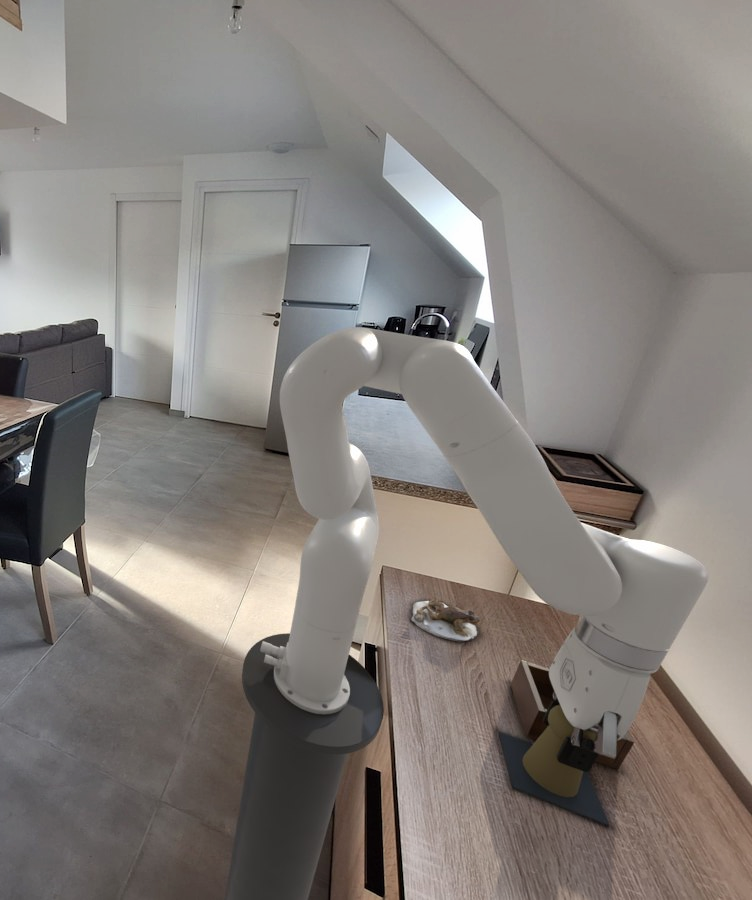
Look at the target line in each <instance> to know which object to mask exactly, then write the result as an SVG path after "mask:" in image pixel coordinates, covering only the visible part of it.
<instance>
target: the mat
mask: <svg viewBox="0 0 752 900" xmlns="http://www.w3.org/2000/svg"><path fill="white" fill-rule="evenodd" d="M498 735H499V739H500V744H501V747H502V751H503V755H504V759H505V763H506V767H507V771H508V774H509V779H510V784H511V787H512V789H514V790H516V791H519V792H521V793H523V794H525V795H528V796H531V797H533V798H536V799H539V800H541V801H543V802H546V803H549V804H551V805H554V806H555V807H558V808H561V809H563V810H566V811H568V812H571V813H573V814H576V815H578V816H581V817H583V818H586V819H589V820H591V821H593V822H595V823H598V824H601V825H604V826H606V827H610V822H609V820H608V818H607V815H606V813H605V811H604V808H603V806H602V804H601V803H602V802H601V801H600V798H599V796H598V794H597V791H596V789H595V787H594V784H593V781H592V779H591V777H590V774H589V772H584V771H583V775H582V779H581V782H580V786H579V790H578V794H576V795H575V796H574V797H563V796H559V795H557V794H554V793H552V792H550V791H548V790H547V789H545V788H543V787H542V786H541V785H539V784H538V783H537V782H536V781H535V780H533V778H532V777H531V776H530V775H529V774H528V773H527V771H526V769H525V767H524V765H523V761H522V760H523V757H524V755H525V754H526V752H527V751H528V750H529V749H530V748H531V746H532V745H533V744H534V743H533V742H530V741H527V740H524V739H522V738H519V737H516V736H513V735H510V734H507V733H504V732H502V731H498Z"/></svg>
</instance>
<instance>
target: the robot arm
mask: <svg viewBox="0 0 752 900" xmlns="http://www.w3.org/2000/svg"><path fill="white" fill-rule="evenodd" d="M363 387H367V388H371V389H376V390H380V391H385V392H390V393H393V394H394V393H395V394H399V395H401V396H402V397H403V399H404V401H405V403H406V404H407V406H408V408H409V409H410V411H411V412H412V413H413V414H414V416H415V417H416V419H417V420H418V421H419V423H420V424H421V426H422V427H423V429H424V430H425V431H426V433H427V434H428V435H429V437H430V438H431V439H432V441H433V443H434V444H435V445H436V447H437V448H438V450H439V451H440V452H441V454H442V456H443V457H444V458H445V460H446V461H447V462H448V464H449V465H450V466H451V468H452V469H453V471H454V473H455V474H456V476H457V477H458V479H459V480H460V482H461V484H462V486H463V487H464V490H465V492H467V494H468V496H469V499H471V500H472V502H473V504H474V505H475V506H476V508H477V509H478V511H479V513H480V514H481V515H482V517H483V518H484V520H485V522H486V523H487V525H488V527H489V528H490V530H491V532H492V533H493V535H494V536H495V538H496V540H497V542H498V543H499V544H500V546H501V548H502V549H503V550H504V552H505V553H506V555H507V556H508V558H509V560H510V561H511V562H512V564H513V565H514V566H515V568H516V569H517V570H518V572H519V573H520V575H521V577H522V578H523V579H524V580H525V582H526V584H527V585H528V586H529V588H530V589H531V590H532V591H533V592H534V594H535V595H536V596H537V597H538V598H539V599H540V600H541V601H543V603H545V604H546V605H548V606H550V607H551V608H554V609H555V610H558V611H560V612H562V613H564V614H565V613H566V614H569V615H574V616H579V618H578V620H577V622H576V624H575V626H574V628H572V630H571V631H570V632H569V633H568V635H567V637H566V638H565V640H564V641H563V643H562V645H561V646H560V648H559V650H558V652H557V654H556V655H555V657H554V659H553V662H552V663H551V665H550V667H549V668H548V669H549V678H550V681H551V683H552V686H553V689H554V692H553V699H554V700H557V701H554V700H552V701H551V703H550V705H549V707H548V709H547V711H546V713H545V716H544V718H543V721H544V723H545V724H546V725H548V726H549V723H548V715H549V712H550V710H551V709H552V708H553V707H555V706H557V705H561V708H562V710H563V712H564V714H565V716H566V718H567V720H568V721H569V723H570V724H571V725H572V726H574V728H573V732H572V736H571V737H566V739H565V740H564V742H563V744H562V746H561V748H560V750H559V752H558V754H557V756H556V757H557V760H558V762H560V763H562V764H565V765H568V766H570V767H573V768H576V769H578V770H581V771H584V772H588V773H589V772H590V771H591V769H592V767H593V766H594V764H595V762H596V761H595V760H596V759H597V757H598V755H604V756H607V757H610V758H613V759H615V758H616V743H617V741H618V740H620V739H622V738H623V737H624V735H625V734H626V733H627V731H628V732H629V730H630V728H631V726H632V724H633V722H634V721H635V719H636V717H637V715H638V712H639V710H640V708H641V705H642V703H643V700H644V698H645V695H646V693H647V689H648V687H649V683H650V679H651V674H655V673H656V672H657V671H659V669H660V668H661V667H660V666H661V665H662V664H663V661H664V659H665V658H666V656H667V654H668V652H669V651H670V649H671V647H672V646H673V644H674V642H675V640H676V638H677V637H678V635H679V633H680V631H681V630H682V628H683V626H684V624H685V622H686V621H687V619H688V617H689V616H690V615H691V612H692V611H693V609H694V607H695V605H696V603H697V602H698V600H699V599H700V598H701V595H702V593H703V591H704V590H705V588H706V586H707V584H708V582H709V572H708V570H707V568H706V567H705V565H704V564H703V563H701V561H699V560H698V559H697V558H695V557H693V556H691V555H689V554H688V553H685V552H683V551H681V550H679V549H676V548H674V547H671V546H668V545H665V544H662V543H658V542H654V541H650V540H649V541H648V540H643V539H632V538H631V539H630V538H627V537H624V536H621V535H617V534H616V533H612V532H609V531H607V530H603V529H601V528H598V527H595V526H592V525H589V524H587V523H584V522H581V521H580V520H579V518H578V516H577V515H576V514H575V512H574V511H573V509H572V508H571V506H570V504H569V503H568V502H567V500H566V498H565V497H564V495H563V494H562V492H561V489H559V487H558V485H557V483H556V481H555V480H554V478H553V476H552V474H551V472H550V470H549V467H548V466H547V463H546V461H545V459H544V458H543V455H542V454H541V452H540V451H539V449H538V447H537V446H536V444H535V443H534V441H533V440H532V439H531V437H530V436H529V434H528V433H527V432H526V430H525V429H524V427H523V426H522V425H521V423H520V422H519V421H518V419H517V418H516V417H515V416H514V414H513V413H512V411H511V410H510V409H509V407H508V406H507V404H506V403H505V402H504V400H503V399H502V398H501V396H500V395H499V393H498V392H497V391H496V390H495V388H494V387H493V385H492V384H491V383H490V381H489V380H488V378H487V377H486V376H485V374H484V373H483V371H482V370H481V368H480V367H479V365H478V364H477V363H476V361H475V360H474V357H473V355H472V354H471V352H470V351H469V349H467V348H466V347H465V346H464V345H461V344H459V343H457V342H454V341H451V340H450V341H449V340H444V339H437V338H431V337H425V336H416V335H411V334H405V333H398V332H393V331H387V330H381V329H375V328H369V327H363V326H362V327H361V326H352V327H346V328H343V329H340V330H337V331H334V332H331V333H328V334H326V335H325V336H323V337H321V338H319V339H318V340H316V341H315V342H313V343H312V344H310V345H309V346H307V348H306V349H304V350H303V351H302V352H301V353H300V354H299V355H298V356H296V358H295V359H294V360H293V361H292V362H291V364H290V365H289V366H288V368H287V370H286V372H285V373H284V376H283V378H282V381H281V384H280V389H279V409H280V414H281V419H282V425H283V429H284V433H285V439H286V445H287V451H288V457H289V461H290V468H291V473H292V478H293V483H294V489H295V494H296V497H297V500H298V502H299V504H300V505H301V507H302V508H303V510H305V512H306V513H307V514H308V515H310V516H312V517H313V518H316V519H318V520H317V522H316V523H315V525H314V527H313V528H312V530H311V532H310V533H309V535H308V537H307V540H306V542H305V544H304V546H303V549H302V553H301V557H300V564H299V565H300V567H299V578H298V579H299V580H298V586H297V592H296V598H295V605H294V608H293V614H292V621H291V627H290V632H289V633H290V636H289V642H287V645H286V647H283V646H280V648H279V647H276V646H273V645H272V644H270V643H267V642H264V641H263V642H262V645H261V649H260V652H262V653H265V654H268V655H265V659H264V662H265V663H267V664H270V665H274V666H275V667H274V680H275V683H276V685H277V687H278V689H279V690H280V692H281V693H282V695H283V696H284V697H285V698H286V699H287V700H289V701H290V702H291V703H292V704H294V705H295V706H297V707H299V708H301V709H303V710H305V711H308V712H311V713H315V714H332V713H336V712H338V711H340V710H342V709H343V708H344V707H345V706H346V704H347V702H348V699H349V695H350V687H349V683H348V681H347V679H346V677H345V675H344V672H345V668H346V664H347V660H348V656H349V655H350V651H351V647H352V644H353V639H354V636H355V632H356V628H357V623H358V618H359V615H360V611H361V607H362V603H363V599H364V595H365V592H366V588H367V584H368V581H369V578H370V574H371V571H372V566H373V562H374V557H375V556H376V555H375V554H376V548H377V544H378V542H379V537H380V522H379V521H380V520H379V514H378V509H377V504H376V503H377V502H376V497H375V493H374V486H373V480H372V474H371V470H370V466H369V462H368V459H367V458H366V456H365V455H364V453H363V452H362V450H361V449H359V448H358V447H357V446H356V445H354V444H353V443H351V442H350V441H349V440H350V439H349V433H348V426H347V422H346V419H345V415H344V412H343V404H344V402H345V400H346V398H347V397H348V396H350V395H352V394H353V393H354V392H356V391H358V390H360V389H362V388H363ZM269 655H272V656H275V657H278V658H277V659H276V658H273V657H271V656H269ZM596 724H598V725H596ZM584 730H588V731H591V732H594V733H597V734H596V738H595V741H594V740H591V739H588V738H583V734H584Z"/></svg>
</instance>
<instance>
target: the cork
mask: <svg viewBox="0 0 752 900" xmlns="http://www.w3.org/2000/svg"><path fill="white" fill-rule="evenodd" d="M548 723H549V726H548V727H547V728H546V729H545V731H544V732H543V733H542V734H541V735H540V737H539V738H538V739H537V740H535V741H534V743H532V744H533V745H532V746H531V748H530V749H529V750H528V751H527V752H526V754H525V755H524V757H523V760H522V761H523V765H524V767H525V769H526V771H527V773H528V774H529V775H530V776H531V777H532V778H533V780H535V781H536V782H537V783H538V784H539V785H541V786H542V787H543V788H545V789H547V790H548V791H550V792H552V793H554V794H557V795H559V796H563V797H574V796H575V795H576V794H578V790H579V786H580V782H581V779H582V775H583V771H581V770H578V769H576V768H573V767H570V766H568V765H565V764H562V763H560V762H558V760H557V757H556V756H557V754H558V752H559V750H560V748H561V746H562V744H563V742H564V740H565V739H566V737H571V736H572V732H573V728H574V726H572V725H571V724H570V723H569V721H568V720H567V718H566V716H565V714H564V712H563V710H562V708H561V705H557V706H555V707H553V708H552V709H551V710H550V712H549V715H548ZM596 725H598V724H596ZM596 734H597V733H594V732H591V731H588V730H584V734H583V738H588V739H591V740H594V741H595V738H596Z"/></svg>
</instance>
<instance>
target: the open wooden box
mask: <svg viewBox="0 0 752 900" xmlns="http://www.w3.org/2000/svg"><path fill="white" fill-rule="evenodd" d="M549 669H550V668H549V667H545V666H542V665H539V664H535V663H532V662H530V661H525V660H522V659H521V660H520V661H519V663H518V666H517V668H516V671H515V673H514V675H513V678H512V680H511V683H510V688H511V690H512V694H513V698H514V700H515V704H516V708H517V710H518V714H519V716H520V720H521V723H522V726H523V729H524V733H525V736H526V737H527V738H529V739H532V740H535V741H536V740H537V739H538V738H539V737H540V735H541V734H542V733H543V732H544V731H545V729H546V728H547V727H548V725H546V724H545V723H544V721H543V718H544V716H545V713H546V711H547V709H548V707H549V705H550V703H551V701H552V700H554V699H553V692H554V689H553V686H552V683H551V681H550V678H549ZM554 701H557V700H554ZM634 744H635V741H634V739H633V738H632V736H631V734H630V732H629V730H628V731H627V733H626V734H625V735H624V737H623V738H622V739H620V740H618V741H617V743H616V758H615V759H613V758H610V757H607V756H604V755H598V757H597V759H596V760H595V762H596V763H598V764H601V765H603V766H606V767H610V768H613V769H614V770H615V769H616V770H619V769H620V767H621V766H622V764H623V762H624V761H625V759H626V757H627V756H628V755H629V753H630V751H631V749H632V747H633V746H634Z"/></svg>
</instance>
